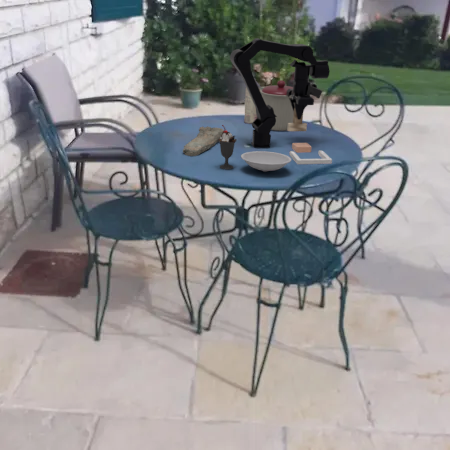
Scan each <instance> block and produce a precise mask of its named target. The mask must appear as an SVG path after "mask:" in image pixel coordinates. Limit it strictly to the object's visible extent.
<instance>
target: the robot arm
mask: <svg viewBox="0 0 450 450" xmlns="http://www.w3.org/2000/svg"><path fill="white" fill-rule="evenodd" d="M260 51H264V52H269V53H275V54H279V55H284V56H289V57H292V58H295V59H294V60H293V61H292V62H291V63H290V64H289V66H290V67H292V68H294V74H293V79H292V80H291V81H292V84H293V86H292V87H293V89H288V90H287V93H286V96H288V97H289V96H291V98H289V100H290V103H291V105H292V108H293V111H294V108H295V111H296V115H297V119H298V120H300V119H301V117H302V114H303V115H304V112H305V109H306V107H307V106H314V104H315V100H314V98H313V97H316V98H317V99H320V98H321V95H322V93H323V90H322V89H320V88H318V87H317V84H316V83H311V81H309V80H310V79H309V78H310V77H311V78H312V80H313V79H326V80H327V79H328V78H329V76H330V66H329V61H328V60H325V59H323V60H317V59H316V57H315V56H314V50H313V48H312V47H311V46H309V45H306V44H303V43H296V44H295V43H293V44H287V43H282V42H276V41H270V40H265V39H260V38H258V37H257V38H256V37H255V38H254V39H252V41H250V42H248V43H247V44H245V45H242V46H241V47H240V48H237V49H234V50H232V51H231V53H230V56H229V59H230V62H231V64H232V65H233V66H234V67H235V69H236V70H237V72H238V73H239V74H240V76H241V77H242V80H243V82H244V84H245V88H246V87H247V89H248V91H249V94H250V96H251V98H252V100H253V103H254V105H255V108H256V115H257V119H256V120H255V121H254V122H253V123H252V124H251V126H252V128H253V129H252V139H251V143H250V144H251V145H252V147H253V148H255V149H256V148H257V149H258V148H260V149H261V148H262V149H263V148H266V149H267V148H271V146H270V145H271V139H272V135H271V131H272V130H271V129H272V127H273V126H274V125H275V123H276V118H275V117H277V116H276V115H275V114H274V110H273V108H272V107H271V106H270V105H266V104H265V102H264V99H263V97H262V94H261V92H260V90H259V88H258V86H257V83H258V82H257V81H255V79H256V78H255V77H254V74H253V73H252V66H251V60H252V59H254V57H255V56H256V55H257V54H258V53H259V52H260ZM296 59H297V60H296ZM298 60H299V61H298ZM306 63H308V64H306ZM254 78H255V79H254ZM256 82H257V83H256ZM312 96H313V97H312Z"/></svg>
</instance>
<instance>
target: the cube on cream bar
mask: <svg viewBox="0 0 450 450" xmlns="http://www.w3.org/2000/svg"><path fill="white" fill-rule="evenodd" d="M303 117H304V113H303V114H302V117H301V119H300V120H298V119H297V115H296V111H295V108H294V115H293V123H288V128H287V130H286V131H288V132H307V130H308V129H307V126H308V124H307V122H303Z"/></svg>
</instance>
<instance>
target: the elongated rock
mask: <svg viewBox="0 0 450 450" xmlns="http://www.w3.org/2000/svg"><path fill="white" fill-rule="evenodd" d="M223 131H224V129H223V128H220V127H211V126H205V127H204V126H203V125H202V126H201V127H199V129H198V133H197V135H196V137H195V138H193V139H191V141H188V143H186V144H185V145H184V146H183V149H182V153H184V155H185V156H187V157H197V156H198V155H200V154H202V153H204V152H206V151H208V150H209V149H210V148H212V147H214V146H215V145H216V143H217V144H218V143H219V141H218V139H220V137H221V135H222V134H223Z"/></svg>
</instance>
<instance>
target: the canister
mask: <svg viewBox="0 0 450 450" xmlns="http://www.w3.org/2000/svg"><path fill="white" fill-rule="evenodd" d="M288 89H293V86H291V85H290V86H289V85H286V82H285V81H284V80H283V79H281V80H278V81H277V83H276V85H268V86H264V87H263V88H261V90H260V92H261V95H262V97H263V99H264V102H265V104H266V105H270V106H271V107H272V108H273V110H274V114H275V115H276V116H277V117H275V118H276V123H275V125H274V126H273V127H272V129H271V131H278V132H279V131H280V132H283V131H287V128H288V123H293V115H294V111H293V108H292V105H291V103H290V100H289V98H291V96H289V97H288V96H286V93H287V90H288Z"/></svg>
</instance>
